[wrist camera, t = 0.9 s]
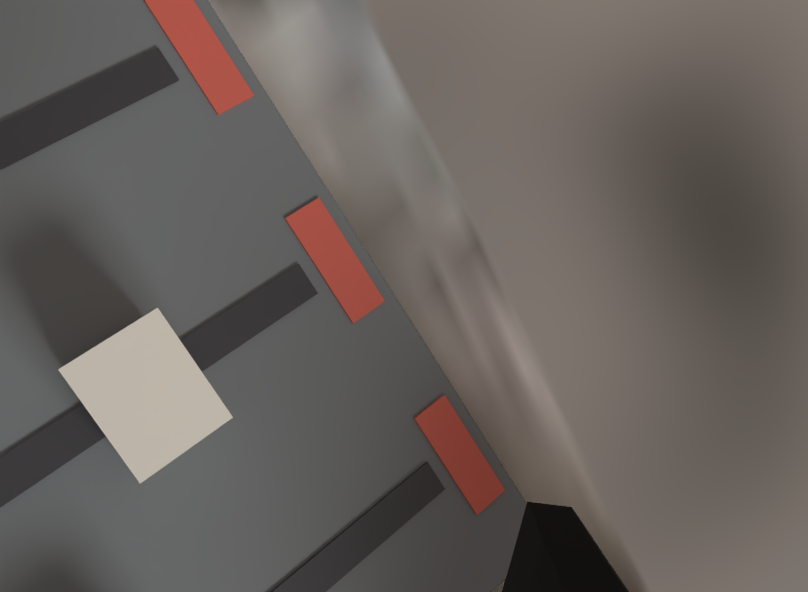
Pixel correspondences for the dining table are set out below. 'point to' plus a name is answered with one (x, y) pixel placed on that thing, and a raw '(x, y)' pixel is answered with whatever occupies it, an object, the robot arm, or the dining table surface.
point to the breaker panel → (211, 335)
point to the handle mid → (146, 394)
